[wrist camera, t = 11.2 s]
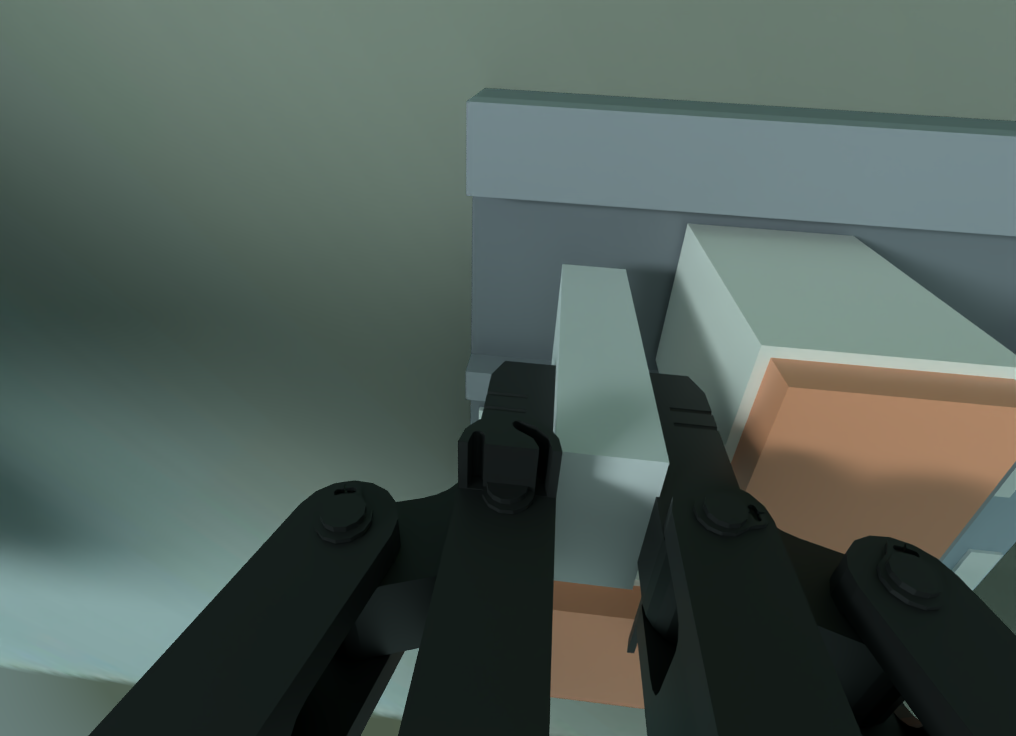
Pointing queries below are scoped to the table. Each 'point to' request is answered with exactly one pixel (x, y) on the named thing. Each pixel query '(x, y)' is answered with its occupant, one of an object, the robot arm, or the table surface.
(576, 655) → the orange-topped white block
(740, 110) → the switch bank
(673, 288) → the white orange-topped block
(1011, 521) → the label card
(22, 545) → the table surface
